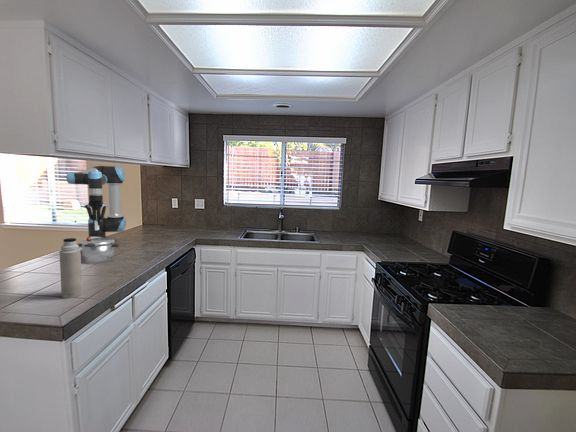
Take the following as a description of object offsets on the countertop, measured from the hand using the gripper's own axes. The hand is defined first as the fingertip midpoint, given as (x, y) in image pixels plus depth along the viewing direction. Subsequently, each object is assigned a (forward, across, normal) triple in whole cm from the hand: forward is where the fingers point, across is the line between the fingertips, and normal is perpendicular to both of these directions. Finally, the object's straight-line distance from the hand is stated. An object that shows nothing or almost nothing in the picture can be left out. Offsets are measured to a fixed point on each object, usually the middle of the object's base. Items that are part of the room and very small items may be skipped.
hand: (97, 229), depth 194 cm
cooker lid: (+9, 0, -1) cm, 9 cm away
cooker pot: (+21, 0, +1) cm, 21 cm away
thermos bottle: (+20, +14, -60) cm, 65 cm away
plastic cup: (+22, -10, +17) cm, 29 cm away
